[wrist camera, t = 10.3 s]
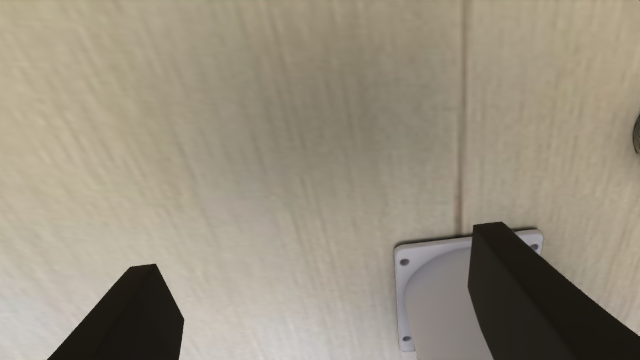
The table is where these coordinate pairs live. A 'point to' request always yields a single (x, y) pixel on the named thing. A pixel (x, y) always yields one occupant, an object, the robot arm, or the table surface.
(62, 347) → the robot arm
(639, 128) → the tumbler
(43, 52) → the table surface
